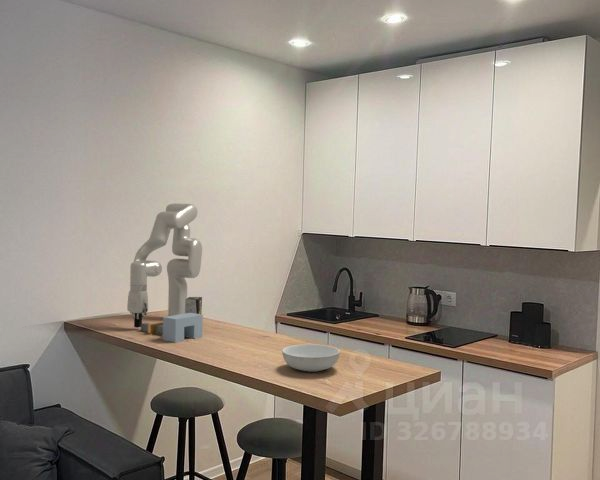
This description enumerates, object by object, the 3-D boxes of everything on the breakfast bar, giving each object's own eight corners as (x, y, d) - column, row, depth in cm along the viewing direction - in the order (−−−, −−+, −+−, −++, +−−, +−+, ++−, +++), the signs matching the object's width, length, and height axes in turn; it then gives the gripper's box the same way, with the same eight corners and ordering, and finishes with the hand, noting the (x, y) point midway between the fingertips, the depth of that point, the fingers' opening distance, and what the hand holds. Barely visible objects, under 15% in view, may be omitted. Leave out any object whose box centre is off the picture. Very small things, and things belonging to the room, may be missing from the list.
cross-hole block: (162, 339, 255) (163, 317, 255) (189, 334, 268) (190, 312, 268) (175, 342, 251) (175, 319, 250) (202, 336, 264) (202, 314, 263)
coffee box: (198, 334, 269) (198, 299, 268) (184, 334, 269) (184, 299, 268) (202, 330, 278) (202, 296, 277) (188, 330, 278) (189, 296, 277)
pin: (136, 331, 272) (136, 321, 272) (150, 329, 278) (150, 319, 278) (172, 339, 258) (172, 328, 258) (185, 336, 264) (185, 326, 264)
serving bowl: (294, 359, 227) (294, 341, 227) (346, 365, 220) (346, 347, 219) (272, 372, 208) (272, 352, 208) (328, 379, 200) (329, 359, 200)
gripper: (121, 287, 278) (121, 326, 279) (142, 290, 269) (141, 330, 270) (134, 286, 284) (134, 323, 285) (155, 289, 275) (154, 328, 276)
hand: (138, 326), depth 277 cm, fingers closed
